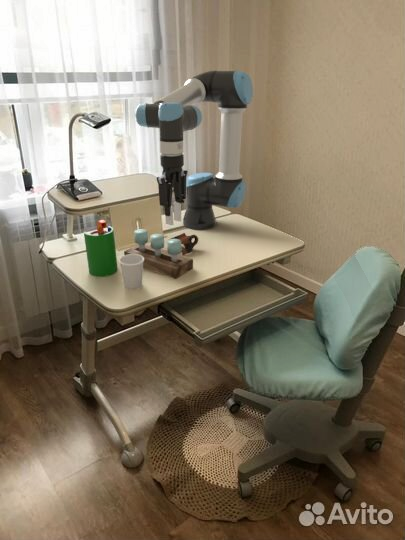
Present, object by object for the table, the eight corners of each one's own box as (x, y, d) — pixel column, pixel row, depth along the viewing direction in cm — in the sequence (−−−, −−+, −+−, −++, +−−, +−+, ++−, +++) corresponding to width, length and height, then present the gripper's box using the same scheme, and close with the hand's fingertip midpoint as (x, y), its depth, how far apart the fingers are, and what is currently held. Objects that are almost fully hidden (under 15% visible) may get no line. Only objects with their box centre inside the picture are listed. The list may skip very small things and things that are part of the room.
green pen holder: (107, 262, 163) (102, 212, 154) (123, 269, 158) (119, 218, 149) (85, 272, 156) (78, 220, 147) (101, 279, 151) (95, 226, 142)
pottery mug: (176, 258, 168) (168, 239, 168) (172, 259, 177) (164, 241, 177) (204, 247, 171) (196, 227, 170) (198, 248, 180) (190, 229, 179)
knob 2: (157, 252, 164) (156, 232, 160) (167, 255, 161) (166, 235, 158) (148, 257, 160) (147, 236, 157) (158, 260, 158) (157, 240, 154)
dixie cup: (128, 294, 143) (125, 266, 138) (116, 284, 149) (114, 257, 144) (150, 287, 147) (148, 260, 142) (138, 277, 153) (136, 251, 148)
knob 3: (173, 257, 160) (173, 237, 156) (184, 261, 157) (184, 240, 154) (164, 262, 156) (164, 242, 153) (175, 266, 154) (175, 245, 150)
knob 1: (141, 247, 168) (140, 228, 164) (151, 250, 166) (150, 231, 162) (132, 251, 164) (131, 232, 161) (142, 254, 162) (141, 235, 158)
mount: (142, 252, 172) (142, 242, 171) (192, 268, 159) (192, 258, 158) (124, 260, 165) (124, 251, 163) (175, 278, 152) (175, 268, 150)
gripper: (163, 160, 131) (166, 232, 142) (196, 151, 143) (196, 218, 154) (145, 156, 135) (149, 227, 146) (179, 148, 147) (180, 213, 158)
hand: (173, 222), depth 150 cm, fingers open, 4 cm apart
